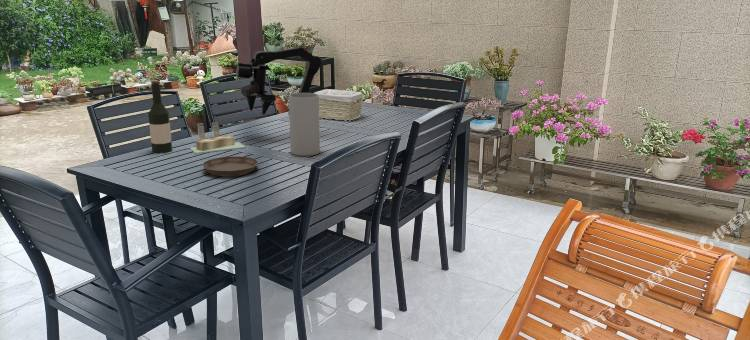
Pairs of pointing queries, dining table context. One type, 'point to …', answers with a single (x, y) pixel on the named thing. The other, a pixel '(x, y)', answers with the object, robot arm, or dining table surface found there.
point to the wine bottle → (159, 123)
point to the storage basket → (339, 104)
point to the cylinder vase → (304, 124)
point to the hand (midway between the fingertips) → (257, 112)
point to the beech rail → (214, 143)
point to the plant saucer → (230, 166)
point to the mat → (236, 146)
